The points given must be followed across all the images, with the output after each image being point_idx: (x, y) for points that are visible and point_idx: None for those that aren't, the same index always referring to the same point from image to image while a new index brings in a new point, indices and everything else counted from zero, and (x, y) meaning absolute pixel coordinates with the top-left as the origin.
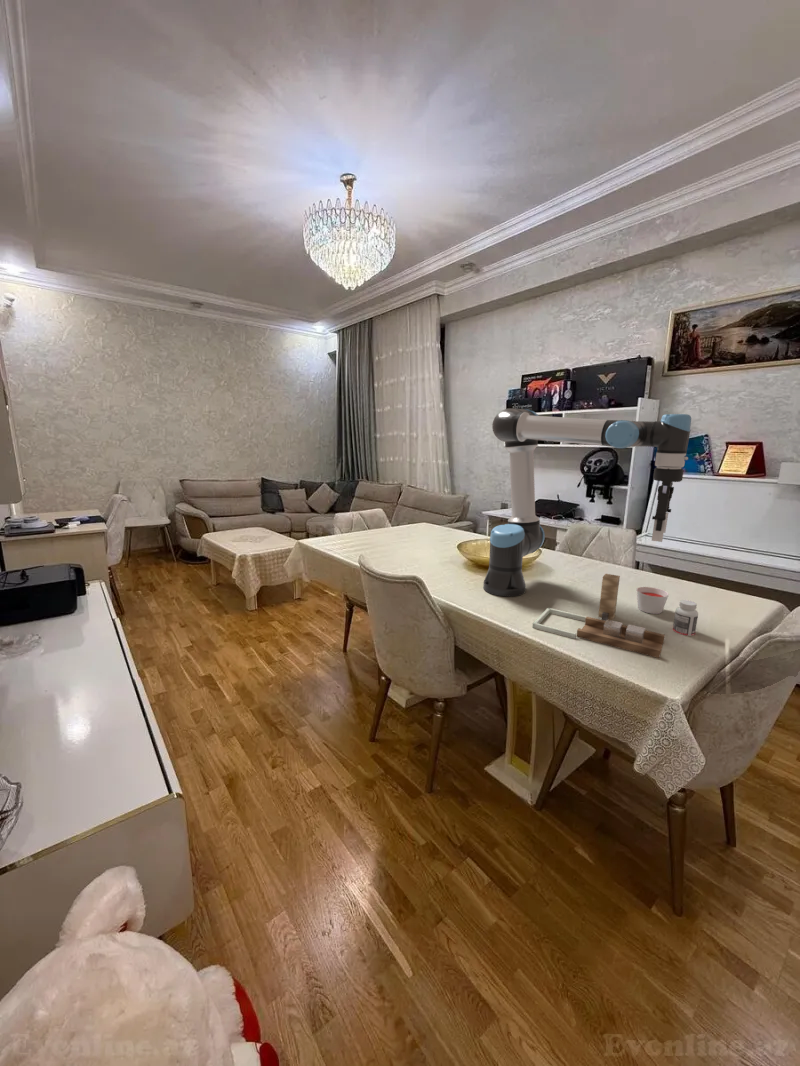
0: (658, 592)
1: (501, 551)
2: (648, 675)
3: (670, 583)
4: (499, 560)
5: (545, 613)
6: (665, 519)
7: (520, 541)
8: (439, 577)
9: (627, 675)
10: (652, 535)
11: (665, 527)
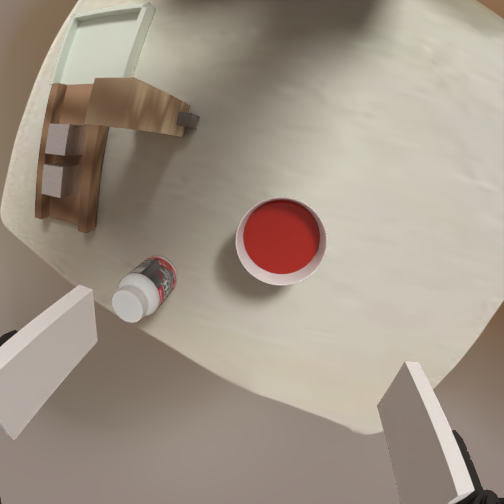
0: (313, 262)
1: None
2: (18, 197)
3: (474, 305)
4: None
5: (117, 10)
6: (403, 478)
7: None
8: None
9: (11, 172)
10: (55, 302)
11: (385, 432)
